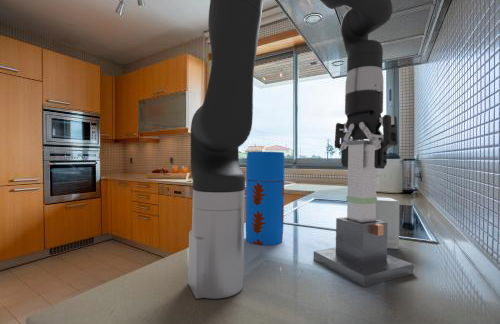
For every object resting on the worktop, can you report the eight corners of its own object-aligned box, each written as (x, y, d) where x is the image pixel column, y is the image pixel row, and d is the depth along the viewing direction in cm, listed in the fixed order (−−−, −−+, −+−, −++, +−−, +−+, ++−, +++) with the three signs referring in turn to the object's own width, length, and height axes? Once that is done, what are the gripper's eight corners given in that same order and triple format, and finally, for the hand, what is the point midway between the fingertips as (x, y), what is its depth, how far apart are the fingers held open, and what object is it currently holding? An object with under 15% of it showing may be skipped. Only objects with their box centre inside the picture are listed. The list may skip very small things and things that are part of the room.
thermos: (239, 242, 71) (240, 151, 71) (252, 232, 81) (254, 153, 81) (277, 247, 67) (279, 151, 67) (286, 236, 77) (288, 153, 77)
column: (362, 232, 53) (363, 140, 53) (345, 226, 57) (346, 141, 57) (377, 229, 55) (379, 141, 55) (359, 224, 59) (361, 142, 59)
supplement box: (399, 249, 67) (400, 201, 67) (369, 247, 69) (370, 199, 69) (390, 241, 74) (391, 197, 74) (363, 239, 76) (363, 196, 76)
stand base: (364, 287, 46) (365, 231, 46) (313, 259, 59) (314, 216, 59) (413, 273, 52) (413, 224, 52) (357, 251, 65) (358, 211, 65)
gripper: (327, 97, 60) (325, 166, 60) (381, 81, 48) (379, 168, 48) (350, 101, 64) (349, 167, 64) (407, 87, 51) (405, 169, 51)
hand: (362, 167), depth 56 cm, fingers open, 8 cm apart
